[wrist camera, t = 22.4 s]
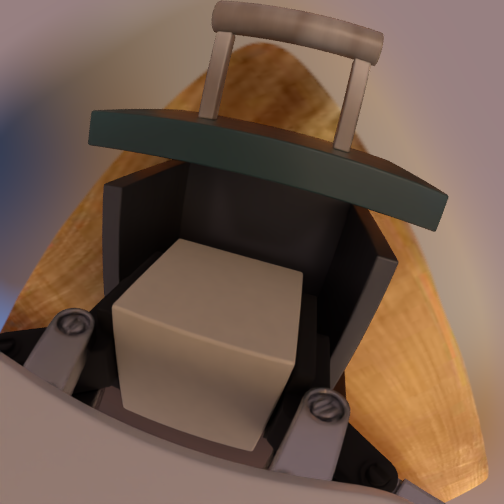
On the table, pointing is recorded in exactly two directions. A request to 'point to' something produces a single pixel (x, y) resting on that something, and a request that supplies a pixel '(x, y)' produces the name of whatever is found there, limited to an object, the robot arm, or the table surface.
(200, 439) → the cabinet
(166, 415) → the block
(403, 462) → the table surface
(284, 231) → the drawer
